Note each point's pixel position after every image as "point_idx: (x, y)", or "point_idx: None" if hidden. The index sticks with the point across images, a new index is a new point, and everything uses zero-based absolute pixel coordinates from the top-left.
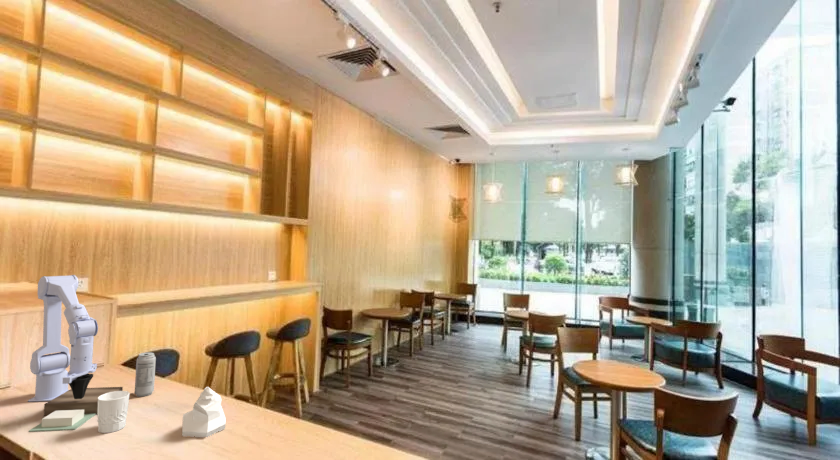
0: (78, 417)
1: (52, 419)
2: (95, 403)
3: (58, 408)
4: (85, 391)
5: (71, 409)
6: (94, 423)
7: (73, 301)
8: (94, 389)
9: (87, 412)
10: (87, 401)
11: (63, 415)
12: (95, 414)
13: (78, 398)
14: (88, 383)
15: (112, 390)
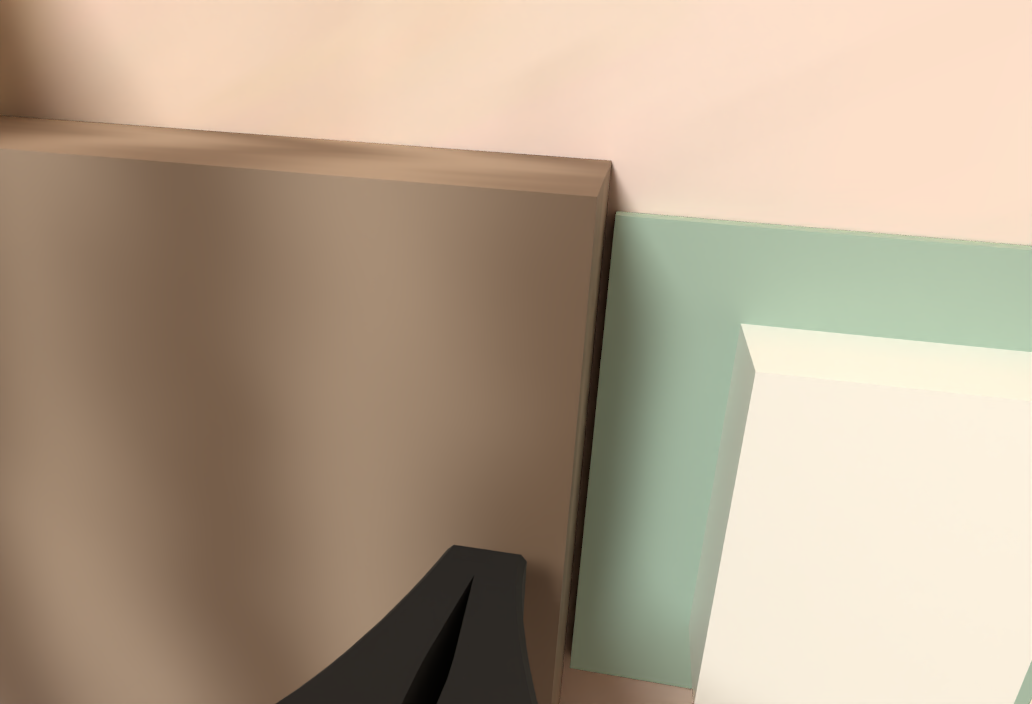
0: (899, 360)
1: (1028, 644)
2: (591, 278)
3: (555, 697)
4: (417, 598)
5: (570, 554)
6: (1018, 65)
7: None
8: (3, 525)
9: (592, 339)
10: (527, 434)
11: (957, 565)
12: (625, 214)
13: (522, 597)
14: (303, 701)
15: (4, 238)
